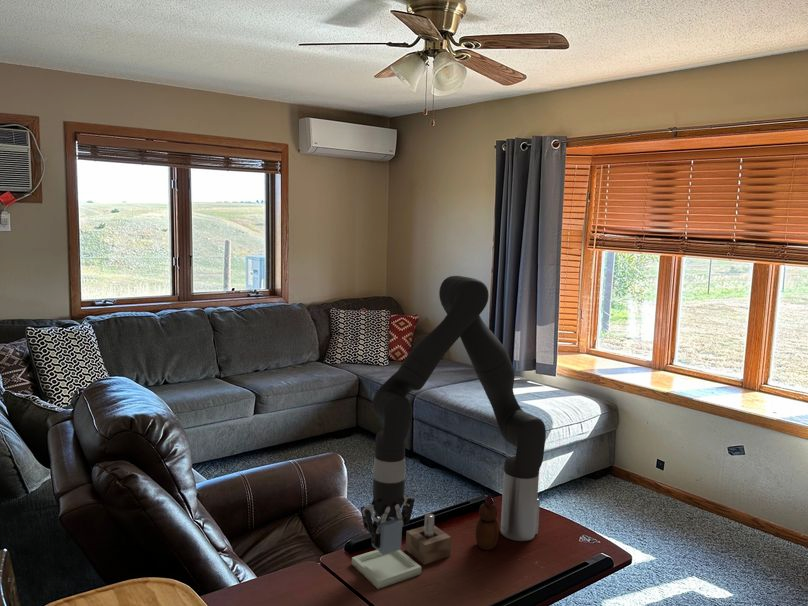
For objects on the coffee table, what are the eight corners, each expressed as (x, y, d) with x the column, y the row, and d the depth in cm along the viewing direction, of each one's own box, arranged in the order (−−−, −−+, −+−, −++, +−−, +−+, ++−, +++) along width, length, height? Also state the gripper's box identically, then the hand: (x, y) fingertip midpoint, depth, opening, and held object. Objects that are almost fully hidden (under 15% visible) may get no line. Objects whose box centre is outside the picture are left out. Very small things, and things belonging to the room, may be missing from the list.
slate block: (389, 540, 155) (390, 512, 154) (401, 549, 151) (402, 521, 150) (372, 545, 153) (372, 517, 152) (383, 554, 148) (384, 526, 147)
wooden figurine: (496, 554, 161) (499, 497, 159) (473, 551, 162) (476, 495, 160) (498, 541, 168) (501, 486, 166) (476, 538, 169) (479, 484, 167)
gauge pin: (429, 550, 162) (430, 512, 161) (434, 554, 160) (436, 516, 159) (421, 552, 161) (422, 514, 159) (426, 556, 159) (428, 518, 157)
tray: (393, 551, 161) (393, 544, 161) (421, 574, 151) (421, 566, 151) (351, 564, 154) (351, 557, 154) (377, 589, 144) (378, 581, 144)
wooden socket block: (431, 541, 166) (432, 523, 166) (450, 555, 160) (451, 537, 159) (405, 549, 162) (406, 531, 161) (424, 564, 155) (424, 545, 155)
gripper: (371, 487, 142) (368, 559, 145) (423, 475, 150) (420, 543, 153) (354, 475, 149) (352, 544, 151) (405, 464, 157) (402, 529, 159)
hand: (386, 543), depth 152 cm, fingers closed on slate block, 5 cm apart
